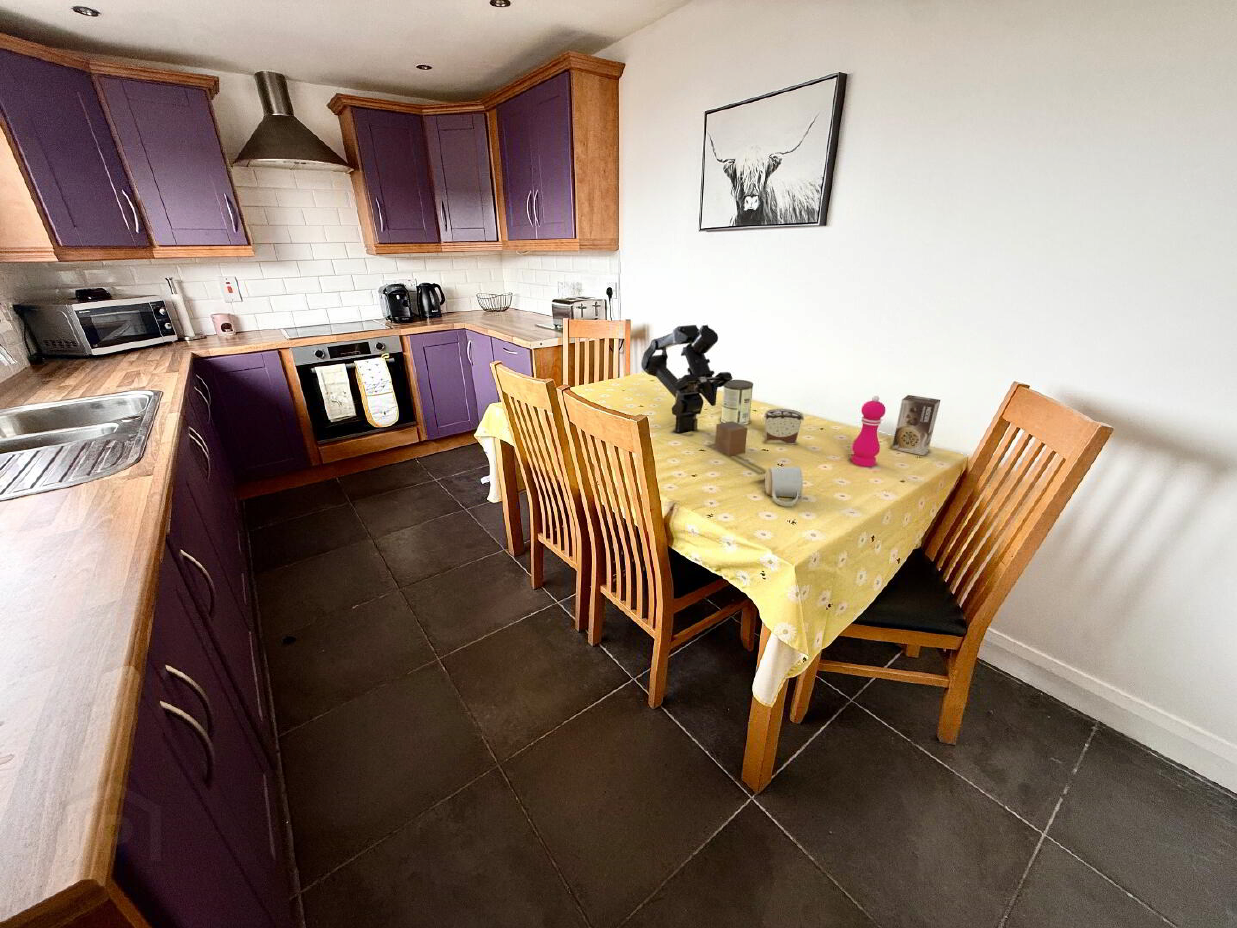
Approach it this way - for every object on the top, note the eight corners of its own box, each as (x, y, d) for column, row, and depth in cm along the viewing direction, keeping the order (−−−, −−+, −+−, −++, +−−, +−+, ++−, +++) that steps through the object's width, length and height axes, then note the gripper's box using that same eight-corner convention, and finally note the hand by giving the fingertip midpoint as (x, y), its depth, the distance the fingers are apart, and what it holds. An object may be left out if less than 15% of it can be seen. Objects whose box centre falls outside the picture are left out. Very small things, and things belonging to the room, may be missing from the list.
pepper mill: (875, 459, 148) (888, 393, 140) (878, 468, 141) (892, 400, 133) (848, 456, 150) (860, 391, 142) (850, 465, 144) (863, 398, 136)
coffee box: (929, 450, 154) (942, 399, 147) (923, 456, 149) (936, 404, 143) (896, 443, 159) (908, 394, 153) (890, 448, 155) (901, 398, 149)
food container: (796, 437, 165) (800, 408, 161) (800, 444, 159) (804, 414, 155) (758, 436, 166) (761, 407, 162) (761, 443, 161) (764, 413, 157)
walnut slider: (714, 448, 153) (716, 424, 150) (730, 445, 156) (732, 421, 153) (729, 456, 147) (731, 431, 144) (745, 452, 150) (747, 427, 147)
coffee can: (726, 415, 188) (729, 378, 182) (753, 419, 183) (757, 381, 177) (716, 422, 180) (718, 384, 174) (743, 427, 175) (747, 388, 169)
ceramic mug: (762, 487, 131) (765, 461, 128) (794, 488, 130) (798, 461, 127) (769, 507, 121) (773, 479, 118) (804, 508, 121) (809, 480, 117)
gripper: (704, 372, 169) (720, 413, 166) (660, 375, 160) (676, 419, 156) (724, 355, 160) (741, 398, 157) (679, 357, 151) (696, 403, 147)
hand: (713, 405), depth 154 cm, fingers closed
